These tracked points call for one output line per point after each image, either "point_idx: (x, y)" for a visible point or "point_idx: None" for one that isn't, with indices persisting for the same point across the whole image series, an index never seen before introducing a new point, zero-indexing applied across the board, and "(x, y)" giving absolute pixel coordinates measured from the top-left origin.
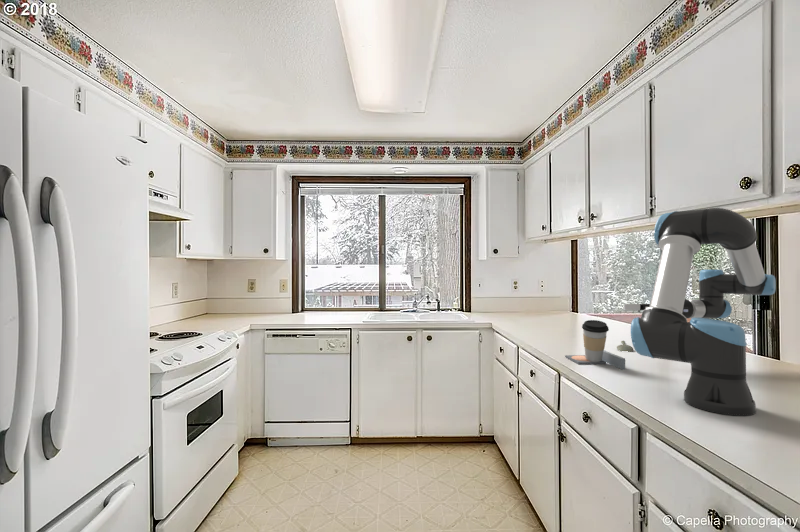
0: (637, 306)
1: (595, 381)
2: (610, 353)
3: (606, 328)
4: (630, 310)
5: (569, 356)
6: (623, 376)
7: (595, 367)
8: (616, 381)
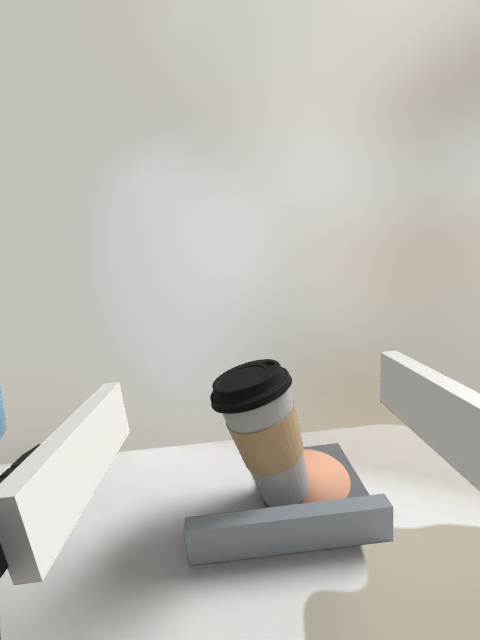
0: (478, 439)
1: (120, 452)
2: (271, 514)
3: (221, 402)
4: (412, 429)
5: (326, 449)
6: (121, 519)
7: (225, 484)
8: (98, 486)
